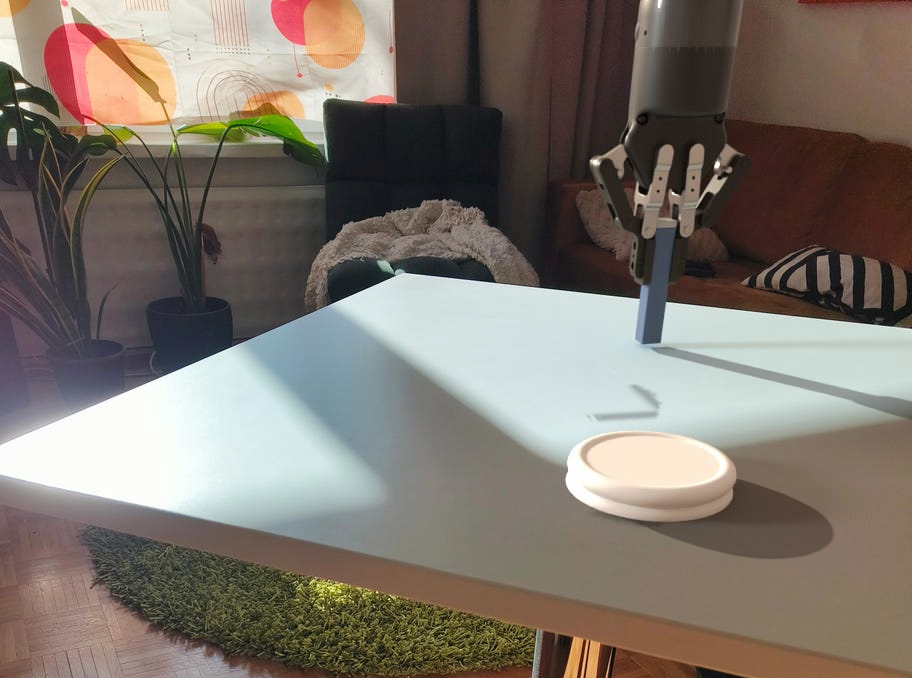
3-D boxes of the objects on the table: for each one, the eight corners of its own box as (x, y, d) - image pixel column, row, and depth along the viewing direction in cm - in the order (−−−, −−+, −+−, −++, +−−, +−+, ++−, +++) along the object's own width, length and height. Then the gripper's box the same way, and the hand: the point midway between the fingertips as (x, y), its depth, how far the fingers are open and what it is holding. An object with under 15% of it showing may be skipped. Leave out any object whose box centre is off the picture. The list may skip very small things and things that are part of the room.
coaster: (530, 502, 56) (534, 449, 54) (640, 466, 61) (647, 417, 59) (649, 564, 50) (658, 506, 48) (761, 519, 55) (773, 465, 53)
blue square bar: (653, 338, 81) (669, 217, 75) (661, 343, 79) (677, 221, 74) (634, 339, 80) (648, 218, 75) (641, 344, 79) (656, 221, 73)
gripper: (615, 42, 63) (592, 296, 73) (794, 41, 65) (749, 289, 75) (583, 42, 70) (566, 277, 79) (748, 41, 71) (711, 270, 81)
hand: (655, 282), depth 77 cm, fingers closed on blue square bar, 2 cm apart
